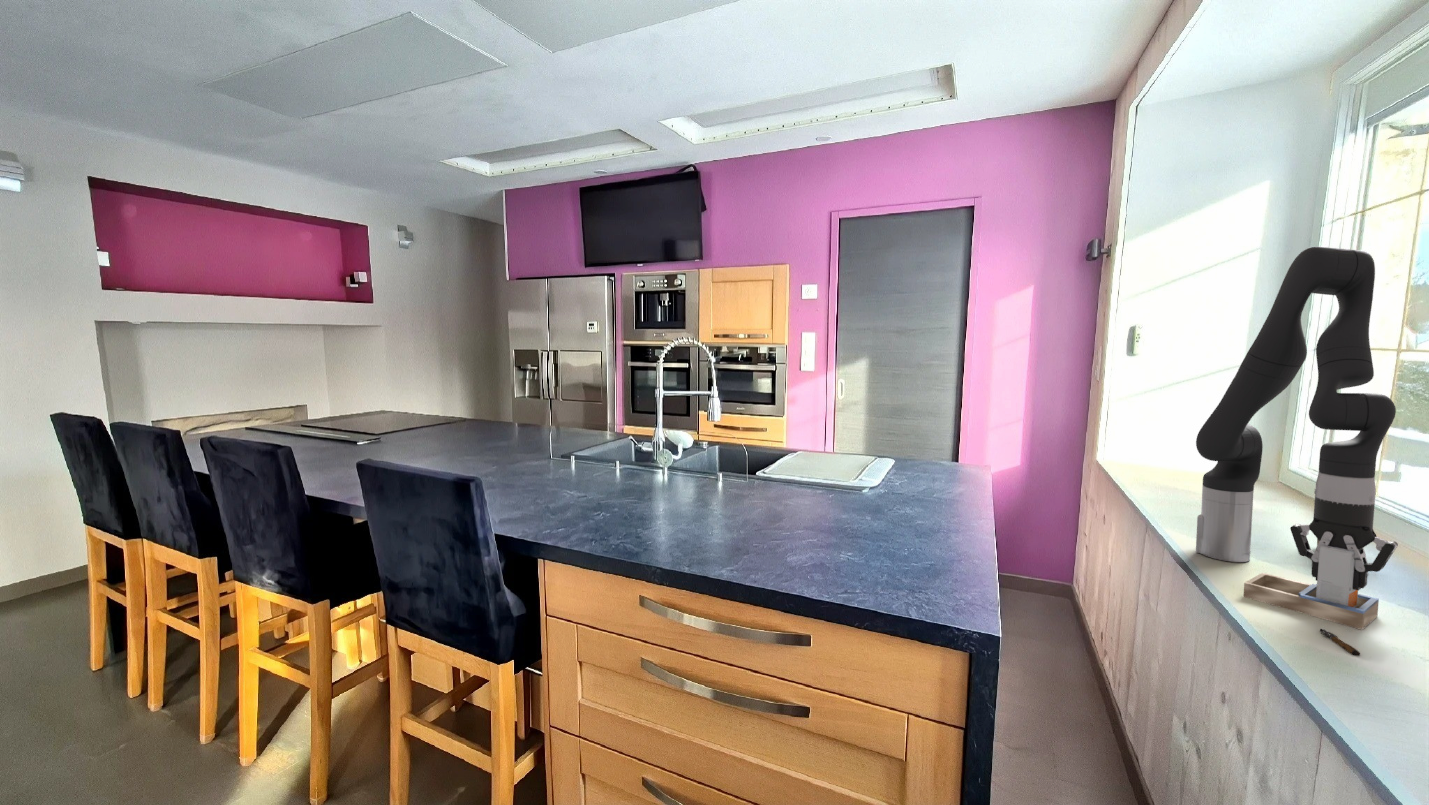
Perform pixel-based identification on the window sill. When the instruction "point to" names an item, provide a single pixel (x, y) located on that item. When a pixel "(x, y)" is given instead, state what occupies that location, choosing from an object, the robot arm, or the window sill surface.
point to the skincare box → (1336, 576)
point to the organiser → (1309, 600)
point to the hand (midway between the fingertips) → (1337, 584)
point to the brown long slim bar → (1341, 643)
